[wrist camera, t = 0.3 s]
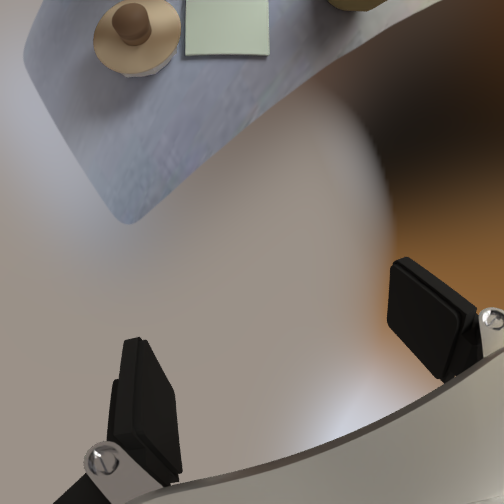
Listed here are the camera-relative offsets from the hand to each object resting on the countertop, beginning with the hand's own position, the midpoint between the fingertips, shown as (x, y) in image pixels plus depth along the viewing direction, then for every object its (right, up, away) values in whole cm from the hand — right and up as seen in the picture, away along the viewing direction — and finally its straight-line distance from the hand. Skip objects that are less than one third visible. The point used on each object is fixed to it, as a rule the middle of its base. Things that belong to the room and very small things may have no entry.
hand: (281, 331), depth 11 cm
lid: (-13, +25, +14) cm, 31 cm away
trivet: (-4, +31, +19) cm, 36 cm away
